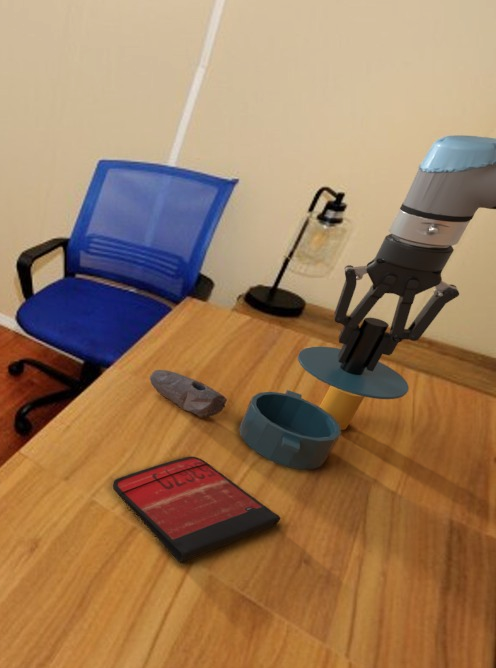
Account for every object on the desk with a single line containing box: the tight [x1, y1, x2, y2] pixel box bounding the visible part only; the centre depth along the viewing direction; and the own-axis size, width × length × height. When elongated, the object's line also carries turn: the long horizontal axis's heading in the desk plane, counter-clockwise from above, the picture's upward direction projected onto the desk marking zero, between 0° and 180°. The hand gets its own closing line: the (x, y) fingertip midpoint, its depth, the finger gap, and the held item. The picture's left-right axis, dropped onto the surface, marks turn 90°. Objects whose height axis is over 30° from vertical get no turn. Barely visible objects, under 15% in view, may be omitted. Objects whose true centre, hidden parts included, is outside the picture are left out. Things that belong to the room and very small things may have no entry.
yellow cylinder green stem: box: [318, 385, 365, 431], centre depth 103 cm, size 5×5×13 cm
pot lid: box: [297, 317, 410, 400], centre depth 87 cm, size 15×15×11 cm
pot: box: [238, 389, 342, 471], centre depth 100 cm, size 14×19×8 cm
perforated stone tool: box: [149, 369, 228, 419], centre depth 111 cm, size 15×5×7 cm, turn 29°
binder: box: [112, 456, 281, 563], centre depth 88 cm, size 16×2×21 cm
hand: (355, 362), depth 89 cm, fingers closed on pot lid, 3 cm apart
